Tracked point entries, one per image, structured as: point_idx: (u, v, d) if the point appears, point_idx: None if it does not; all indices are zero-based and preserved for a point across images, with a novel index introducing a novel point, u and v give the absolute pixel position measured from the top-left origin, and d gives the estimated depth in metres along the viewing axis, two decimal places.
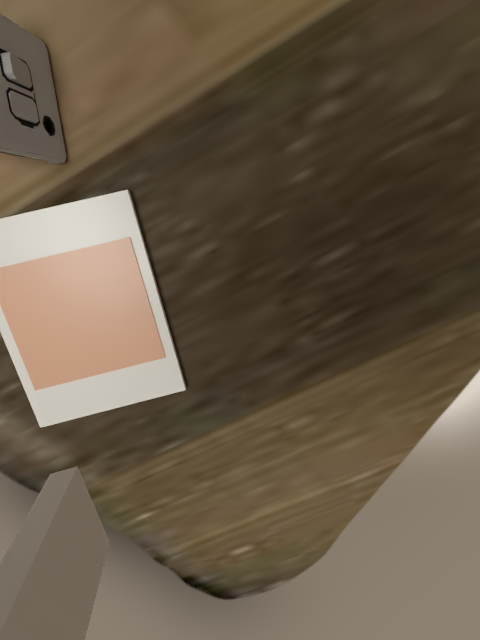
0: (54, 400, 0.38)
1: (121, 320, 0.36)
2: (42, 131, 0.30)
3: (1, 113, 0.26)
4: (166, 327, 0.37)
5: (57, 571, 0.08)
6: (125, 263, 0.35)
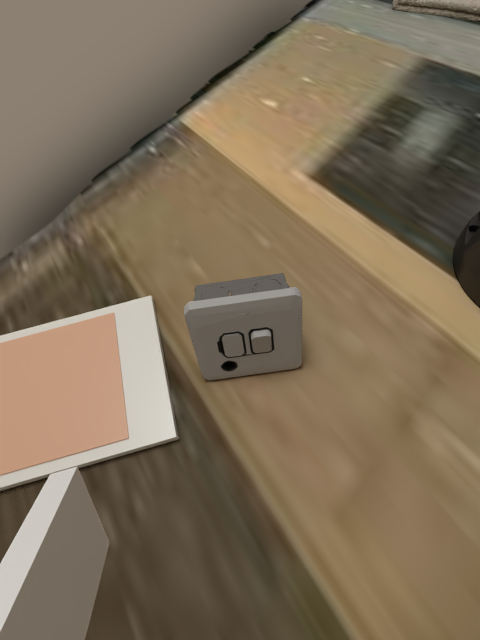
0: None
1: (43, 427, 0.34)
2: (220, 359, 0.33)
3: (217, 326, 0.30)
4: (24, 479, 0.32)
5: (57, 571, 0.08)
6: (102, 433, 0.33)
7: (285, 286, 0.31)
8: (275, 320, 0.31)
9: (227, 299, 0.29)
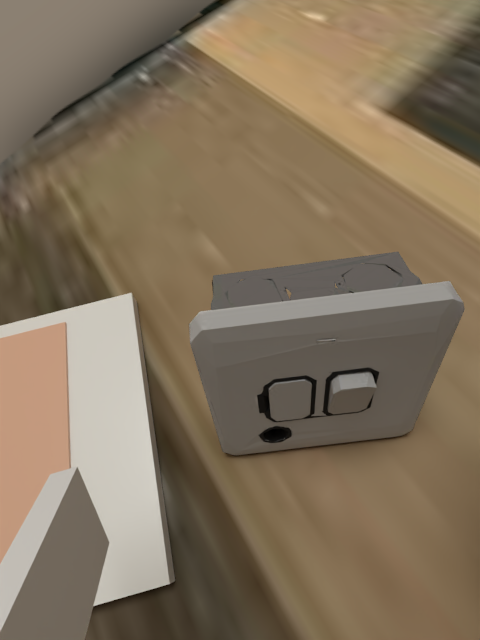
0: None
1: None
2: (260, 425, 0.17)
3: (262, 366, 0.14)
4: None
5: (57, 571, 0.08)
6: None
7: (412, 279, 0.14)
8: (389, 353, 0.14)
9: (291, 307, 0.13)
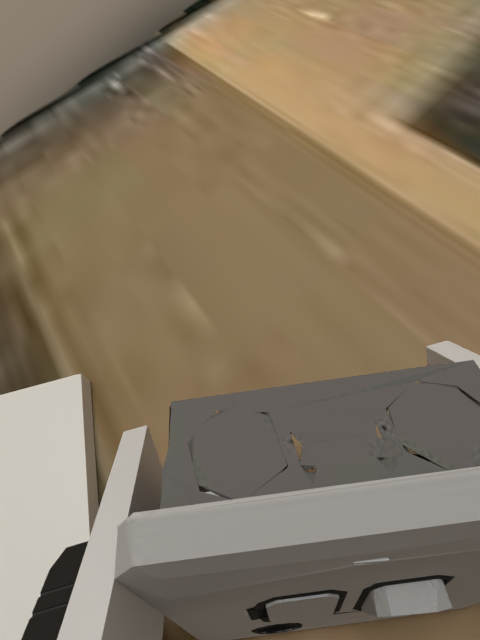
0: None
1: None
2: (254, 625, 0.11)
3: (254, 591, 0.08)
4: None
5: (146, 506, 0.10)
6: None
7: None
8: (478, 558, 0.08)
9: (307, 511, 0.07)
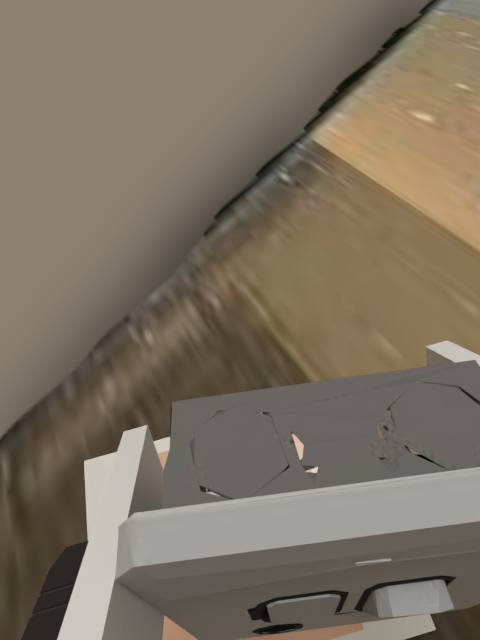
0: None
1: None
2: (254, 626, 0.10)
3: (255, 591, 0.08)
4: None
5: (146, 506, 0.10)
6: None
7: None
8: None
9: (309, 511, 0.07)
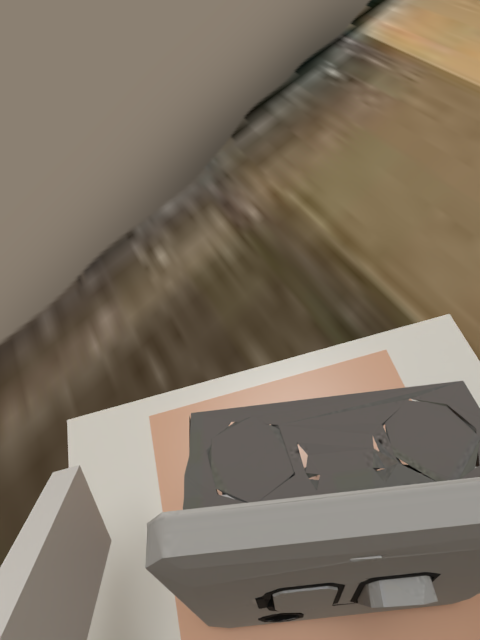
0: (121, 453, 0.18)
1: None
2: (260, 613, 0.12)
3: (263, 581, 0.09)
4: None
5: (60, 569, 0.08)
6: None
7: None
8: (460, 558, 0.09)
9: (311, 514, 0.08)
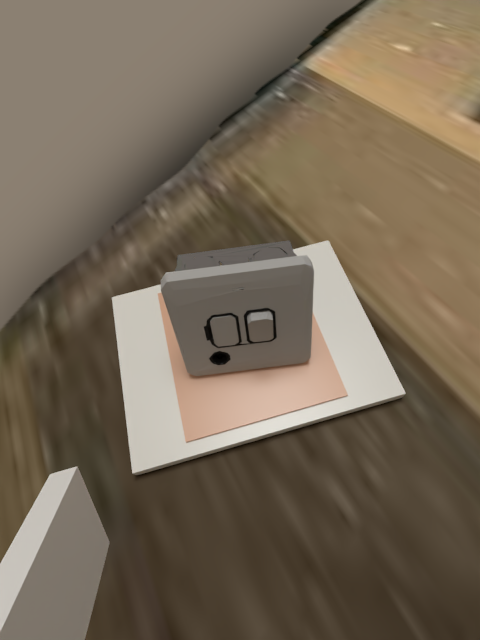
0: (142, 311, 0.33)
1: (239, 384, 0.28)
2: (209, 350, 0.27)
3: (204, 305, 0.24)
4: (229, 443, 0.27)
5: (57, 571, 0.08)
6: (313, 389, 0.28)
7: (292, 255, 0.24)
8: (278, 298, 0.24)
9: (217, 269, 0.23)
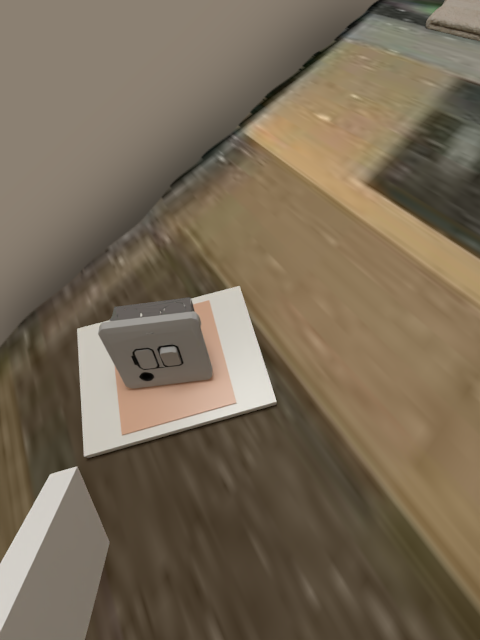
0: (99, 339, 0.44)
1: (162, 394, 0.40)
2: (137, 371, 0.38)
3: (128, 343, 0.35)
4: (151, 436, 0.38)
5: (57, 571, 0.08)
6: (213, 398, 0.40)
7: (188, 309, 0.36)
8: (178, 338, 0.36)
9: (135, 320, 0.34)
